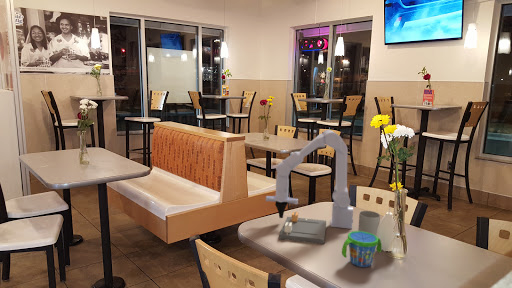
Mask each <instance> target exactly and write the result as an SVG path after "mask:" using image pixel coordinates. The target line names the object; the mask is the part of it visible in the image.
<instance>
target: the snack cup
mask: <svg viewBox="0 0 512 288" xmlns="http://www.w3.org/2000/svg"><path fill="white" fill-rule="evenodd" d="M347 248H349V260H350V262H351V264H352V265H354V266H356V267H360V268H368V267H371V266H372V264H373V261H374V257H375V253H376V251H377V252H378V253H381V252H382V251H383V250H382V244H381V240H380V239H379V238H378V237H377V236H375V235H373V234H371V233H368V232H363V231H358V230H354V231H350V232H349V233H348V234H347V238H346V239H345V241H344V243H343V244H342V248H341V254H342V257H344V258H348V257H347Z"/></svg>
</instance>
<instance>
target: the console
mask: <svg viewBox="0 0 512 288" xmlns="http://www.w3.org/2000/svg"><path fill="white" fill-rule="evenodd" d="M291 220H292V216H287V217H286V219H285V222H284V223H283V226H282V228H281V230H280V233H279V240H287V241H292V242H293V241H294V242H303V243H310V244H319V245H324V243H325V237H326V228H327V220H324V219H323V220H322V219H313V218H304V217H303V218H302V217H298V220H297V222H293V221H291ZM286 222H291V223H292V230H291V233H286V232H285V224H286Z"/></svg>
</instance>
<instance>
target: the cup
mask: <svg viewBox="0 0 512 288" xmlns="http://www.w3.org/2000/svg"><path fill="white" fill-rule="evenodd" d="M380 221H381V214H380V213H379V212H376V211H371V210H361V211H359V217H358V229H357V231H363V232H368V233H371V234H373V235H375V236H377V229H378V226H379V223H380Z"/></svg>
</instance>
